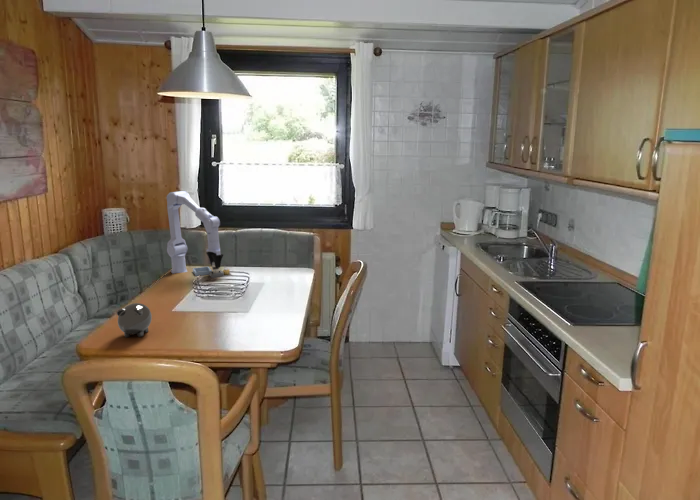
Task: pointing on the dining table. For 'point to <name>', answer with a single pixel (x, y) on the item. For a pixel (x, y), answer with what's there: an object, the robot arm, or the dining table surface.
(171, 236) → the robot arm
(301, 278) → the dining table surface
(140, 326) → the piggy bank
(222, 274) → the fuse block
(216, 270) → the fuse
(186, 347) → the dining table surface
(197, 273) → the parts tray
